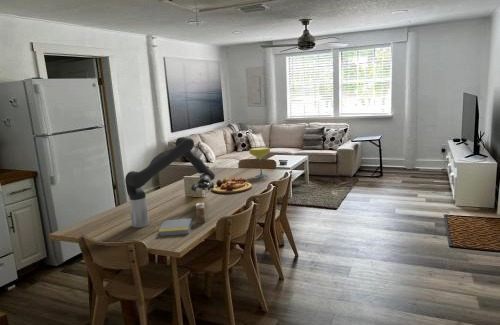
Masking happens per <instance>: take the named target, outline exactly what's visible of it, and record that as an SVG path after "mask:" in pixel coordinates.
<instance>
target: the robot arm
mask: <svg viewBox="0 0 500 325" xmlns="http://www.w3.org/2000/svg"><path fill="white" fill-rule="evenodd" d="M174 145H175V146H174V147H173V148H169V149H166V150H164V151H162V152H159V153H158V154H157V155H156V156H155V157H153V159H151V161H150V162H149V164H148V165H147V166H146V167H145V168H143V169H142V170H140V171H133V170H132V171H129V172H128V173H126V175H125V177H124V178H125V179H124V180H125V187H126V192H127V195H128V199H129V204H130V210H131V211H130V220H131V227H132V228H137V229H138V228H144V227H147V226H149V225H150V219H149V213H148V211H149V210H148V204H147V203H148V202H147V199H146V198H147V197H146V192H145V191H144V190H143V189H142V187H144V186H145V185H146V184H147V183H148V182H149V181H150V180H151V179H152V178H154V177H155V176H156V175H158V174H159V173H160V172H162V171H163V170H164V169H166V168H168V167H169V166H170V165H171V164H172V163H174V162H176V161H177V160H178V159H179V158H181V157H182V156H184V157H185V158H186V159H187V160H188V161H189V163H190V164H191V165H192V166H193V168H194V169H195V171H196V172H197V173H198V174H200V175H199V181H198V182H197V184H194V183H193V184H191V185H190V186H191V188H190V189H191V191H193V192H197V191H199V190H202V191H210V190H212V188H214V186H215V183H214V182H212V180H214V179H215V177H216V174H215V172H214V171H212V170H211V169H209V167H207V166H206V165H205V163H204V162H203V160H202V159H201V158H200V157H199V156H197V154H196V153H195V152H193V151H192V150H193V149H194V148H195V147H194V146H195V142H194V139H193V138H191V137H186V136H185V137H184V136H183V137H182V136H181V137H178V138H177V139H176V140H175V143H174Z"/></svg>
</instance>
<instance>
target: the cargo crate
mask: <svg viewBox="0 0 500 325" xmlns="http://www.w3.org/2000/svg"><path fill="white" fill-rule="evenodd" d="M195 208H196V209H195V210H196V219H197V224H202V223H206V222H207V215H206V206H205V202H197V203H196V204H195Z"/></svg>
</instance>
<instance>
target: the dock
mask: <svg viewBox="0 0 500 325" xmlns="http://www.w3.org/2000/svg"><path fill="white" fill-rule="evenodd" d="M192 227H193V219H192V218H181V219H167V220H164V221H163V222H162V224H161V225H160V227H159V228H158V229H159V230H158V232H159V236H161V237H163V236H176V235H178V236H179V235H189V234H190V232H191V230H192Z"/></svg>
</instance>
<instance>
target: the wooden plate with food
mask: <svg viewBox="0 0 500 325" xmlns="http://www.w3.org/2000/svg"><path fill="white" fill-rule="evenodd" d="M252 186H253V185H252V184H251V183H250V182H247V181H246V178H245V177H244V178H242V177H240V178H239V179H238V178H235V177H233V178H231V180H230V178H228V177H225V178H224V179H221V178H219V179H217V181H216V184H214V188H211V191H213V193H218V194H236V193H242V192H247V191H249V190H251V189H252V188H253V187H252Z"/></svg>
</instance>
